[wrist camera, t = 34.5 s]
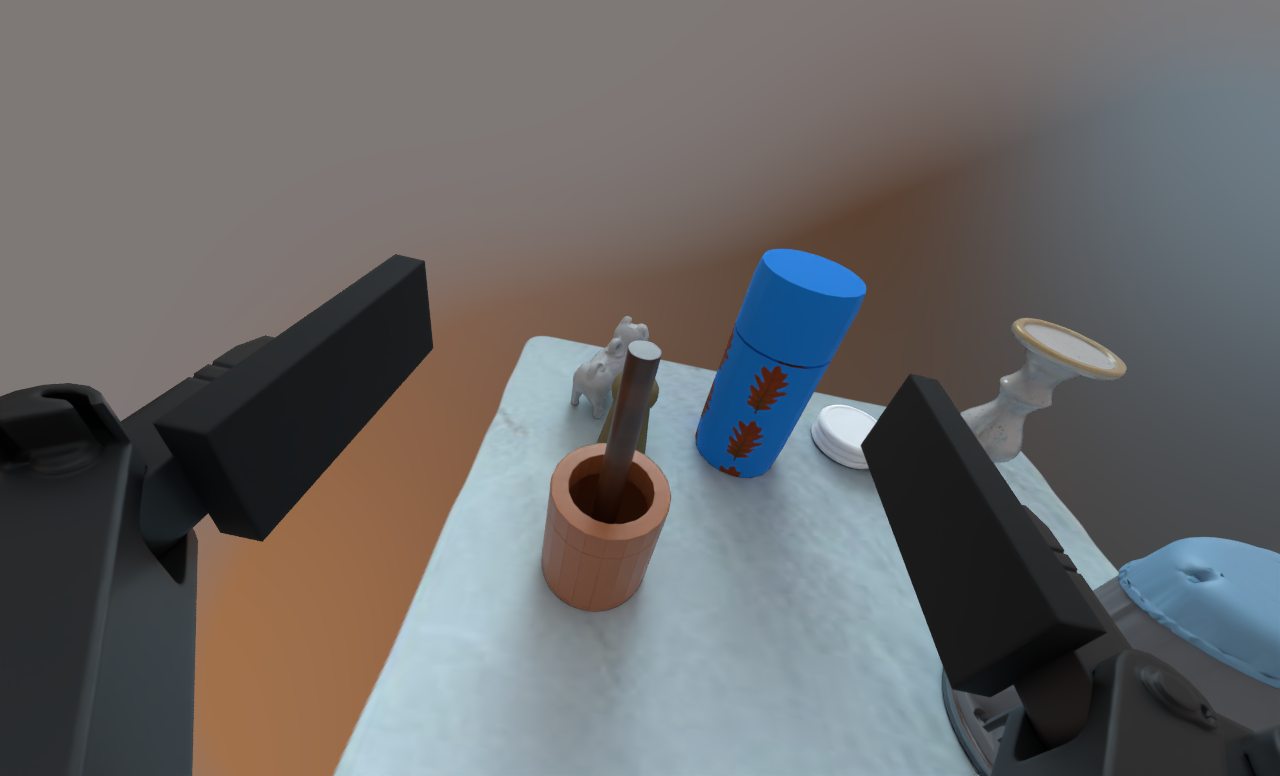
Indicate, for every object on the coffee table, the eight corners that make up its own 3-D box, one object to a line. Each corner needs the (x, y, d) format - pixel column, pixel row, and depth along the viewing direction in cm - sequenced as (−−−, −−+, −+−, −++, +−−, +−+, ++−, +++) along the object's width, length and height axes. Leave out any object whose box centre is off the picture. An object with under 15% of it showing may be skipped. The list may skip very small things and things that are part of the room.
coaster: (847, 417, 71) (858, 400, 69) (894, 465, 64) (908, 448, 62) (796, 423, 68) (806, 405, 65) (840, 476, 61) (852, 458, 58)
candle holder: (902, 448, 68) (1014, 305, 53) (981, 492, 64) (1126, 350, 49) (884, 489, 60) (1008, 335, 46) (972, 542, 56) (1141, 391, 41)
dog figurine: (646, 382, 68) (663, 320, 62) (595, 426, 59) (609, 357, 52) (616, 366, 70) (630, 304, 63) (562, 406, 60) (572, 337, 54)
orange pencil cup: (664, 569, 45) (694, 499, 38) (585, 635, 39) (604, 564, 32) (600, 501, 50) (617, 428, 43) (521, 550, 44) (526, 473, 37)
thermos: (687, 461, 57) (758, 275, 42) (700, 409, 66) (762, 239, 50) (773, 490, 56) (877, 310, 41) (774, 433, 65) (861, 267, 50)
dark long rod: (626, 561, 44) (692, 358, 30) (590, 587, 42) (643, 379, 27) (597, 528, 47) (645, 325, 32) (561, 552, 44) (596, 341, 29)
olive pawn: (586, 447, 56) (599, 375, 49) (616, 424, 60) (632, 354, 53) (626, 475, 53) (645, 404, 47) (654, 448, 58) (675, 379, 51)
